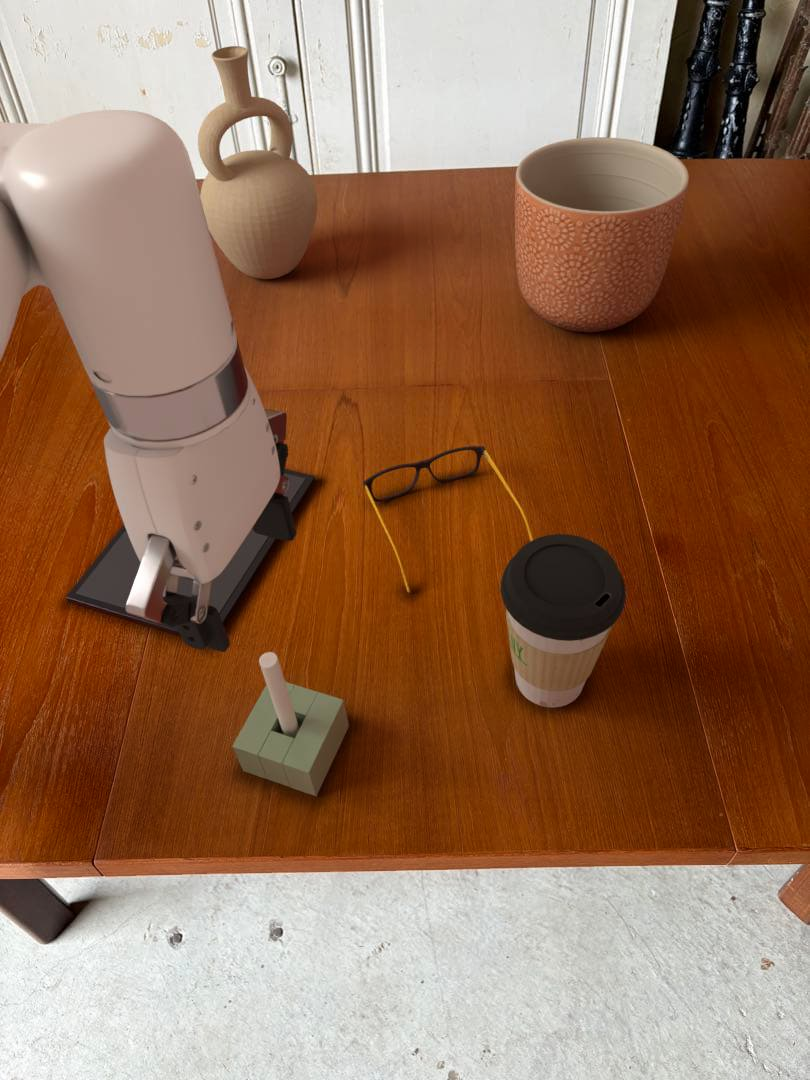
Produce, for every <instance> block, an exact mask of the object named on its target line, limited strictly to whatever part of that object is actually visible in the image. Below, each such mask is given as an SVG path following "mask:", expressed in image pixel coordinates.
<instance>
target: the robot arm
mask: <svg viewBox="0 0 810 1080" xmlns="http://www.w3.org/2000/svg"><path fill="white" fill-rule="evenodd" d="M199 190H200V189H199V186H198V182H197V178H196V175H195V171H194V167H193V165H192V161H191V158H190V155H189V151H188V150H187V147H186V145H185V144H184V142H183V140H182V138H181V137H180V136H179V134H178V133H177V132H176V131H175V130H174V129H173V128H172V127H171V126H170V125H169V124H168V123H167V122H165V121H163V120H162V119H160V118H159V117H156V116H154V115H152V114H149V113H146V112H141V111H138V110H137V111H136V110H127V109H105V110H103V109H102V110H93V111H87V112H86V111H85V112H82V113H77V114H72V115H69V116H65V117H63V118H59V119H57V120H54V121H50V122H49V123H26V122H10V121H9V122H7V121H0V362H1V360H2V358H3V356H4V354H5V351H6V349H7V346H8V344H9V340H10V338H11V334H12V332H13V329H14V326H15V322H16V320H17V316H18V312H19V310H20V307H21V306H20V305H21V302H22V299H23V297H24V296H25V295H26V294H27V293H29V292H30V291H31V290H32V289H33V288H35V287H38V286H43V287H46V288H47V289H49V290H50V294H51V295H52V297H53V300H54V302H55V304H56V307H57V309H58V311H59V314H60V316H61V318H62V320H63V322H64V324H65V327H66V330H67V331H68V334H69V336H70V338H71V340H72V343H73V345H74V346H75V350H76V352H77V355H78V356H79V359H80V361H81V363H82V366H83V368H84V371H85V372H86V374H87V377H88V379H89V382H90V384H91V386H92V389H93V391H94V393H95V396H96V397H97V400H98V402H99V405H100V406H101V409H102V411H103V413H104V416H105V419H106V420H107V423H108V425H109V427H110V428H109V429H108V431H107V433H106V434H105V435H104V437H103V446H104V454H105V455H104V456H105V461H106V467H107V471H108V476H109V480H110V484H111V488H112V492H113V494H114V499H115V502H116V505H117V508H118V511H119V515H120V517H121V521H122V523H123V525H125V528H126V530H127V533H128V536H129V538H130V541H131V543H132V545H133V548H134V550H135V552H136V554H137V556H138V558H139V560H140V562H141V564H140V567H139V569H138V572H137V575H136V578H135V580H134V583H133V586H132V589H131V591H130V594H129V597H128V600H127V603H126V606H125V607H126V612H127V613H128V614H131V615H134V616H137V617H140V618H144V619H146V620H150V621H153V622H157V623H160V624H164V625H167V626H177V628H178V631H179V633H180V635H181V637H180V638H181V639H182V641H183V642H184V643H185V644H186V645H187V646H189V647H191V648H193V649H196V650H200V651H204V650H206V649H207V648H208V649H212V650H215V651H218V652H222V653H226V652H227V650H228V648H229V647H230V645H231V643H230V638H229V635H228V633H227V630H226V628H225V627H224V625H223V623H222V620H221V618H220V615H219V613H218V610H217V609H216V608H215V607H213V606H210V605H209V600H210V592H211V585H212V580H213V579H214V578H216V577H217V576H218V575H219V574H220V573H221V572H222V571H223V570H224V569H225V567H226V566H227V564H228V563H229V562H230V560H231V559H232V557H233V556H234V554H235V553H236V551H237V550H238V548H239V547H240V545H241V544H242V542H243V541H244V539H245V538H246V536H247V535H248V533H249V532H250V530H251V529H252V528H253V531H254V532H255V533H257V534H260V535H264V536H268V537H272V538H277V539H279V540H280V541H284V542H291V541H294V539H295V537H296V536H297V535H298V534H297V529H296V524H295V521H294V517H292V512H291V508H290V504H289V500H288V497H286V496H284V495H283V494H286V492H287V491H288V488H289V478H288V477H286V476H284V470H285V469H286V465H287V461H288V460H287V459H288V457H289V447H288V444H286V443H285V441H286V439H287V424H288V423H287V421H288V419H287V418H288V416H287V413H286V412H285V411H280V410H276V409H271V408H266V409H265V407H264V404H263V402H262V399H261V397H260V395H259V393H258V389H257V388H256V385H255V384H254V381H253V378H252V377H251V375H250V373H249V371H248V369H247V368H246V366H245V364H244V360H243V355H242V353H241V348H240V345H239V341H238V336H237V333H236V329H235V325H234V321H233V317H232V313H231V310H230V306H229V303H228V300H227V298H228V297H227V295H226V291H225V287H224V285H223V278H222V276H221V272H220V271H221V270H220V267H219V264H218V260H217V256H216V253H215V248H214V244H213V240H212V235H211V233H210V231H209V229H208V225H207V221H206V217H205V213H204V209H203V205H202V201H201V197H200V194H201V193H200V191H199ZM179 576H180V577H183V578H187V579H191V580H194V582H193V589H192V597H188V596H184V595H181V594H177V591H178V583H179Z"/></svg>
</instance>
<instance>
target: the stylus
mask: <svg viewBox="0 0 810 1080" xmlns="http://www.w3.org/2000/svg"><path fill="white" fill-rule="evenodd" d="M258 663H259V667H260V668H261V672H262V675H263V678H264V682H265V684H267V687H268V690H269V693H270V696H271V699H272V702H273V705H274V708H275V711H276V713H277V716H278V719H279V722H280V725H281V728H282V731H283V734H284V735H286V736H289V737H292V738H294V739H295V737H296V735H297V733H298V731H299V726H298V722H297V719H296V716H295V712H294V709H293V706H292V703H291V699H290V696H289V693H288V690H287V686H286V683H285V682H286V680H285V677H284V674H283V670H282V668H281V667H282V666H281V664H280V661H279V657H278V655H277V654H276V653H275V652H273V651H267V652H264V653H263V654H261V655H260V656H259V659H258Z"/></svg>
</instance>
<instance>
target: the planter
mask: <svg viewBox="0 0 810 1080" xmlns="http://www.w3.org/2000/svg"><path fill="white" fill-rule="evenodd" d="M689 182H690V174H689V171H688V169H687V167H686V165H685V164H684V163H683V161H681V160H680V159H679V158H678V157H676V156H675V155H674V154H672V153H670V152H669V151H667V150H665V149H663V148H661V147H659V146H656V145H652V144H649V143H646V142H643V141H638V140H634V139H633V140H632V139H629V138H628V139H627V138H621V137H604V136H603V137H602V136H598V137H597V136H594V137H578V138H571V139H566V140H561V141H557V142H553V143H549V144H547V145H544V146H542V147H539V148H537V149H535V150H534V151H532V152H530V153H529V154H527V155H526V156H525V157H523V159H522V160H521V161H520V162H519V164H518V165H517V168H516V171H515V182H514V183H515V184H514V254H515V255H514V256H515V267H516V274H517V282H518V286H519V287H518V288H519V290H520V293H521V295H522V297H523V299H524V301H525V303H526V304H527V305H528V307H529V308H530V309H531V310H532V311H533V312H534V313H535V314H536V315H537V316H538V317H539V318H541V319H542V320H543V321H545V322H547V323H548V324H551V325H553V326H555V327H557V328H558V329H559V328H560V329H563V330H566V331H570V332H578V333H598V332H605V331H610V330H613V329H616V328H619V327H620V326H621V327H622V326H623V325H626V324H627V323H629V322H631V321H632V320H634V319H635V318H637V317H638V316H640V315H641V314H642V313H643V312H644V311H645V310H646V309H647V308H648V307H649V306H650V304H651V303H652V302H653V300H654V298H655V297H656V295H657V293H658V291H659V289H660V286H661V283H662V281H663V278H664V276H665V273H666V270H667V267H668V264H669V261H670V258H671V254H672V251H673V248H674V244H675V240H676V236H677V233H678V230H679V227H680V222H681V218H682V214H683V210H684V205H685V201H686V198H687V197H686V196H687V192H688V189H689V188H688V187H689Z"/></svg>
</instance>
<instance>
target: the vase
mask: <svg viewBox="0 0 810 1080" xmlns="http://www.w3.org/2000/svg"><path fill="white" fill-rule="evenodd" d="M210 57H211V59H212V61H213V62H214V65H215V66H216V67H215V68H216V70H217V72H218V75H219V79H220V82H221V85H222V88H223V93H224V98H225V102H223V103H221V104H219V105H217V106H216V107H215V108H213V109H211V111H210V112H209V113H208V114H206V116H205V117H204V119H203V121H202V123H201V125H200V127H199V130H198V134H197V147H198V148H197V149H198V154H199V157H200V159H201V162H202V164H203V166H204V167H205V169H206V170H207V171H208V173H207V174H206V176H205V178H204V179H203V182H202V184H201V190H200V193H199V194H200V197H201V201H202V205H203V209H204V213H205V217H206V221H207V225H208V229H209V232H210V235H211V237H212V238H213V240H214V242H216V244H217V246H218V247H219V250H221V251H222V253H223V255H224V256H225V257H226V258H227V259H228V260H229V262H230V263H231V264H232V265H234V267H235V268H236V269H238V270H239V271H240V272H242V273H243V274H244V275H246V276H248V277H251V278H255V279H259V280H272V279H277V278H281V277H283V276H285V275H287V274H289V273H290V272H292V271H293V270H294V269H296V267H297V266H298V265H299V263H300V262H301V260H302V258H303V256H304V255H305V252H306V251H307V249H308V246H309V244H310V241H311V238H312V235H313V232H314V228H315V224H316V220H317V213H318V197H317V190H316V186H315V183H314V181H313V179H312V177H311V176H310V173H308V171H307V170H306V169H305V168H304V167H303V166H302V165H301V164H300V163H299V162H298V161H296V160H295V159H293V158H292V157H291V153H292V149H293V129H292V124H291V121H290V118H289V116H288V114H287V112H286V111H284V109H283V108H282V107H281V106H280V105H279V104H278V103H276V102H275V101H272V100H271V99H268V98H265V97H262V96H261V97H259V96H252V91H251V85H250V77H249V64H248V61H249V59H248V58H249V50H248V48H246V47H244V46H240V45H229V46H224V47H221V48H218V49H216V50H214V51H213V52H212V53H211V56H210ZM255 117H266V118H267V120H268V123H269V126H270V141H269V150H267V149H265V150H264V149H253V150H252V149H251V150H245V151H240V152H235V153H234V154H231V155H229V156H227V157H225V158H222V156H221V149H220V146H221V142H222V139H223V137H224V135H225V134H226V133H227V131H228V130H229V129H230V128H232V127H233V126H234V125H236V124H238V123H239V122H241V121H244V120H247V119H250V118H255Z"/></svg>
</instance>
